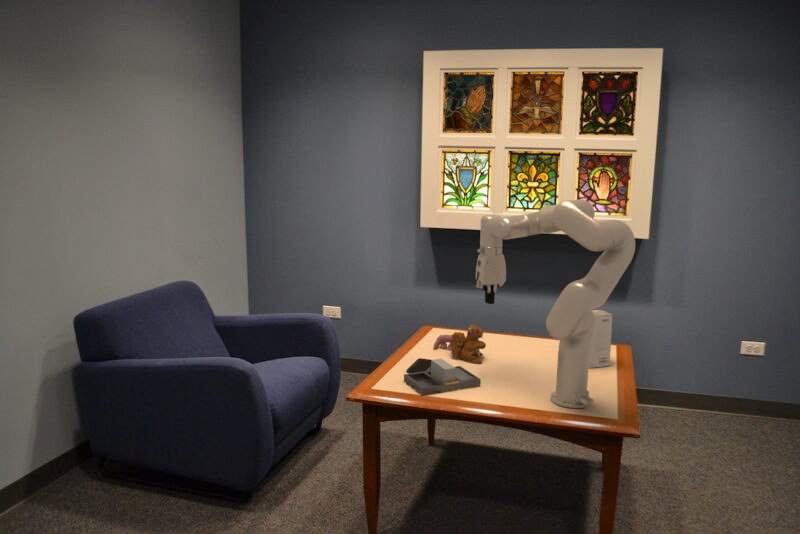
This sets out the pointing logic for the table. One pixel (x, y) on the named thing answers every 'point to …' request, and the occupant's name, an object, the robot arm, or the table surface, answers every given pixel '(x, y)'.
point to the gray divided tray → (432, 386)
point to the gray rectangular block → (442, 371)
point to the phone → (420, 366)
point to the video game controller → (443, 342)
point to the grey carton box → (601, 339)
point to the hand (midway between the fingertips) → (489, 303)
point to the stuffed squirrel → (468, 345)
